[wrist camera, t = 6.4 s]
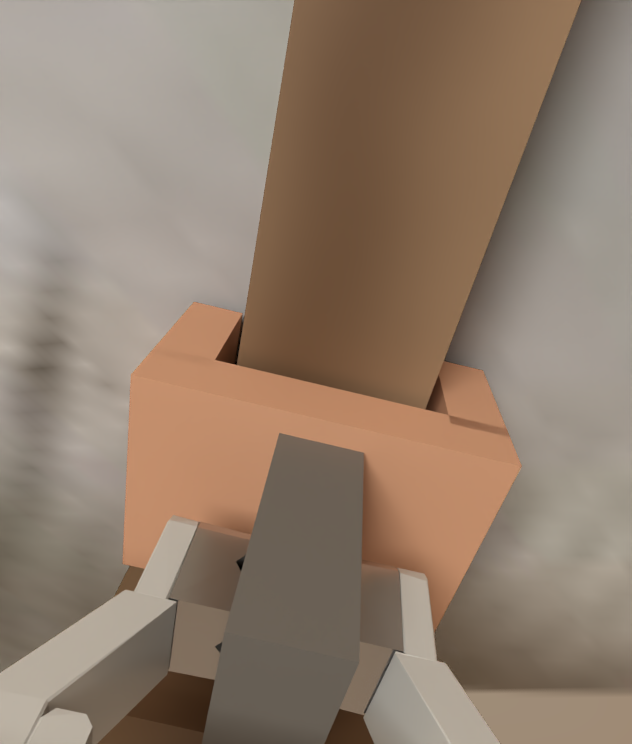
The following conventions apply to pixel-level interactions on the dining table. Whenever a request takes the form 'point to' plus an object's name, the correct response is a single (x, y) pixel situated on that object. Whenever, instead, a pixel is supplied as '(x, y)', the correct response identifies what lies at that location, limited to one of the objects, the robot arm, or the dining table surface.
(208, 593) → the robot arm
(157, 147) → the dining table surface
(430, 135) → the rail
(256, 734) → the slider
